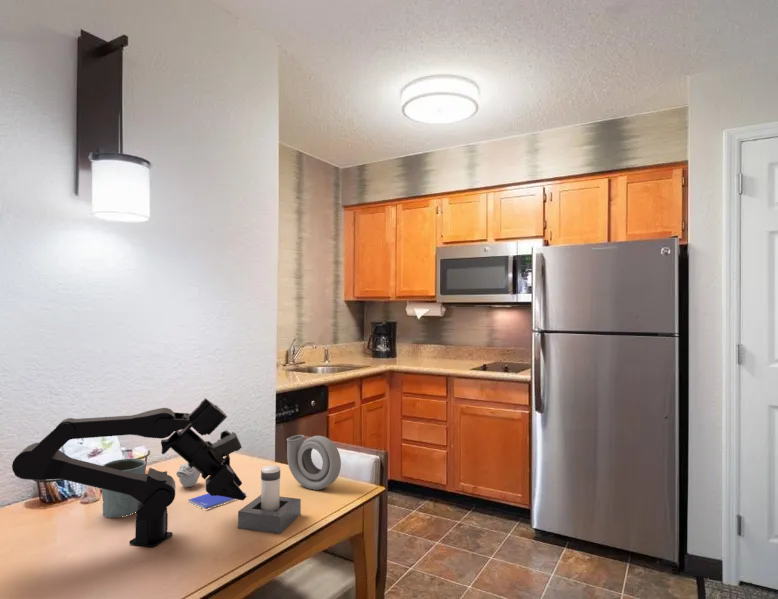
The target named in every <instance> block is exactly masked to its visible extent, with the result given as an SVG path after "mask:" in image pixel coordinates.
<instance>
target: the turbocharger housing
mask: <svg viewBox="0 0 778 599" xmlns="http://www.w3.org/2000/svg"><path fill="white" fill-rule="evenodd" d="M305 437H306V436H305V435H303V434H297V435H292V436H291V437H290V436H289V437H288V438H286V442H287V443H286V444H287V445H286V446H287V447H286V448H287V449H286V459H287V465H288V468H289V470H290V473H291V475H292V476H293V478H294V479H295V481H296V482H297V483H299V484H300V485H301V486H303V487H304V488H306V489H309V490H312V489H313V491H315V490H318V491H319V490H322V489H325V488H326V487H328V486H330V485H332V484H333V483H334V482H335V481H336V480H337V479H338V477H339V475H340V472H341V468H342V467H341V466H342V462H341V461H342V459H341V456H340V452H339V449H338V448H337V446H336V445H335V443H334V442H333V441H332V440H330V439H329V437H326V436H323V435H314V436H310V437H308V438H306V439H305ZM313 450H316V451H317V453H318V454H319V455H320V457H321V461H322V465H321V469H320V468H318V467H317V466H316V465H315V464H314V462H313V458H312V452H313Z"/></svg>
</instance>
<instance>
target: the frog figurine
mask: <svg viewBox="0 0 778 599" xmlns="http://www.w3.org/2000/svg"><path fill="white" fill-rule="evenodd" d="M200 476H201V473H200V472H199V471H197V470H196V469H195V468H194V467H192V468H191V467H189V466H188V462H186V463H184V464H180V465H179V469H178V470H177V471H176V477H177V478H179V479H178V481H179V483H180V484H181V485H182V487H185V488H192V487H193V486H195V485H197V483H198V481H199V477H200Z"/></svg>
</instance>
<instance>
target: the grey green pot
mask: <svg viewBox="0 0 778 599" xmlns="http://www.w3.org/2000/svg"><path fill="white" fill-rule="evenodd" d="M146 465H147V463H146V461H145V460H144V459H140V458H122V459H116V460H111V461H108V462H106V463H104V464H102V465H101V466H105V467H109V468H113V469H117V470H121V471H125V472H129V473H133V474H146ZM101 497H102V498H101V499H102V502H103V503H102V515H103V516H104V517H105V516H106V517H105V518H107V517H122V516H126V515H130V514H132V513H135V512H136V510H137V506H138V501H137V500H136V499H134V498H133V497H131V496H130V495H127V494H122V493H118V492H114V491H109V490H105V489H101ZM135 514H136V513H135ZM130 516H131V515H130ZM122 518H123V517H122Z"/></svg>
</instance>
